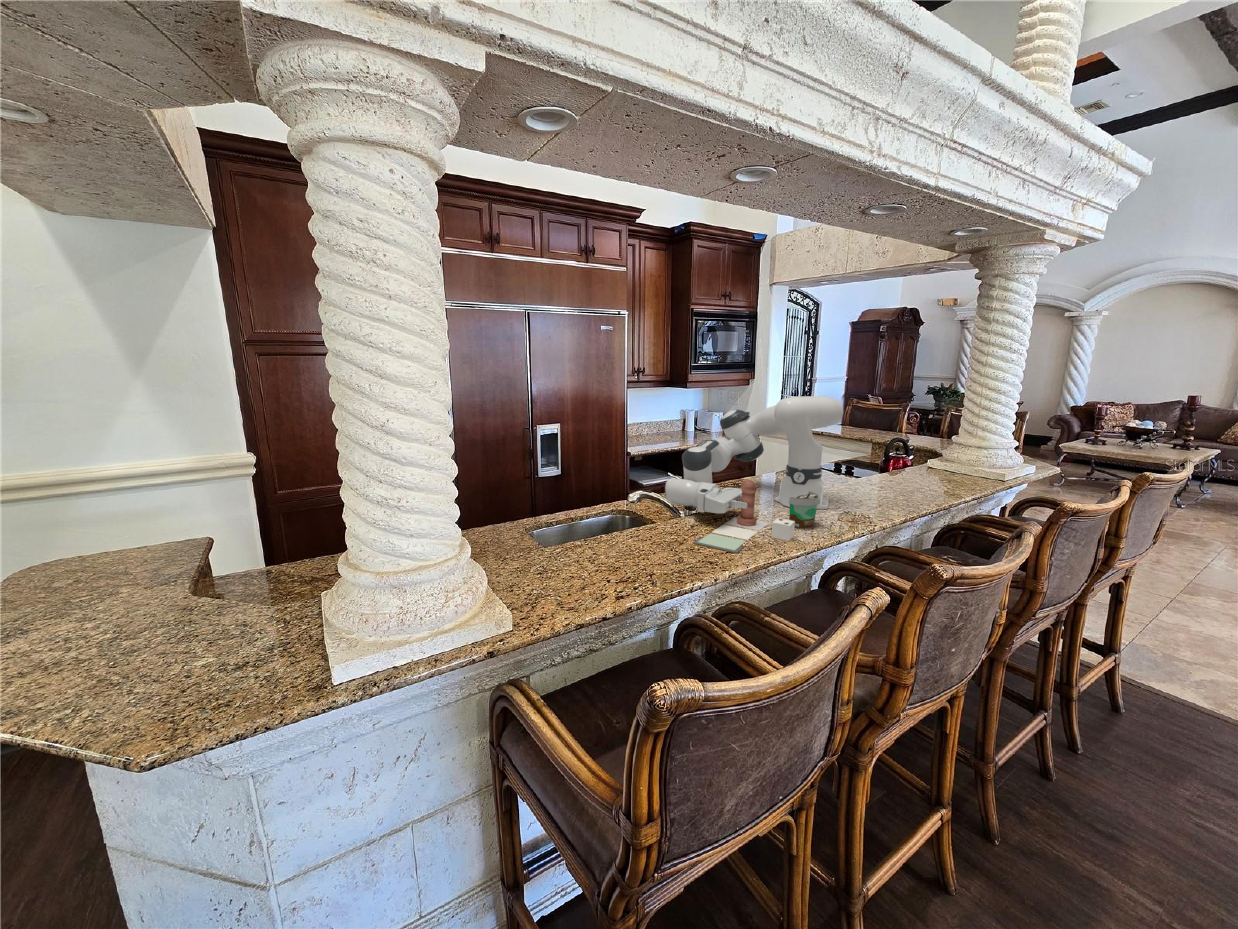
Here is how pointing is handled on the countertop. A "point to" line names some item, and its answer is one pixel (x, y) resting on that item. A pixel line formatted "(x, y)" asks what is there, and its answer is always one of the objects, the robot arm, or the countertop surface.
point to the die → (783, 529)
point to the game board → (727, 542)
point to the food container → (804, 510)
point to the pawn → (748, 496)
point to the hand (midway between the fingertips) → (750, 503)
